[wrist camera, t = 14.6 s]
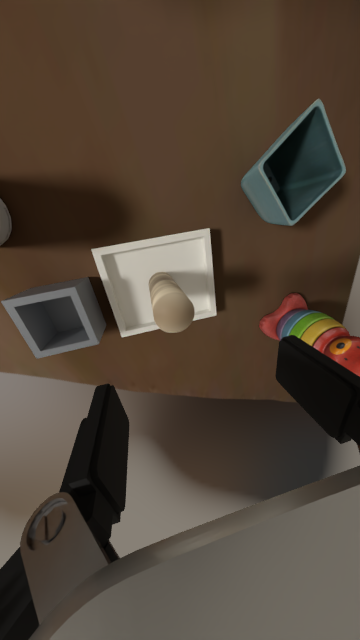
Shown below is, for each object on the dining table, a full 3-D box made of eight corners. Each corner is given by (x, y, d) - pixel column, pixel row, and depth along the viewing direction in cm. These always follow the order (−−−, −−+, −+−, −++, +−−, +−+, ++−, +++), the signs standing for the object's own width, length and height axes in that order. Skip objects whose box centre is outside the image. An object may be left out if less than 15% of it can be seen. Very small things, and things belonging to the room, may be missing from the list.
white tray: (95, 248, 28) (91, 249, 26) (204, 229, 30) (209, 228, 28) (123, 331, 35) (121, 337, 33) (211, 310, 37) (216, 315, 35)
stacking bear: (294, 288, 39) (402, 322, 23) (312, 316, 43) (414, 363, 27) (255, 323, 40) (330, 379, 24) (276, 347, 44) (352, 408, 29)
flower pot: (224, 186, 28) (257, 165, 20) (267, 137, 27) (321, 94, 19) (253, 230, 32) (291, 227, 24) (293, 189, 31) (347, 172, 23)
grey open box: (30, 288, 29) (1, 301, 23) (88, 277, 30) (74, 286, 24) (56, 336, 33) (36, 358, 27) (106, 324, 34) (98, 343, 28)
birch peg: (145, 274, 31) (148, 299, 18) (171, 269, 31) (191, 289, 18) (151, 299, 32) (158, 336, 20) (175, 294, 33) (196, 327, 20)
